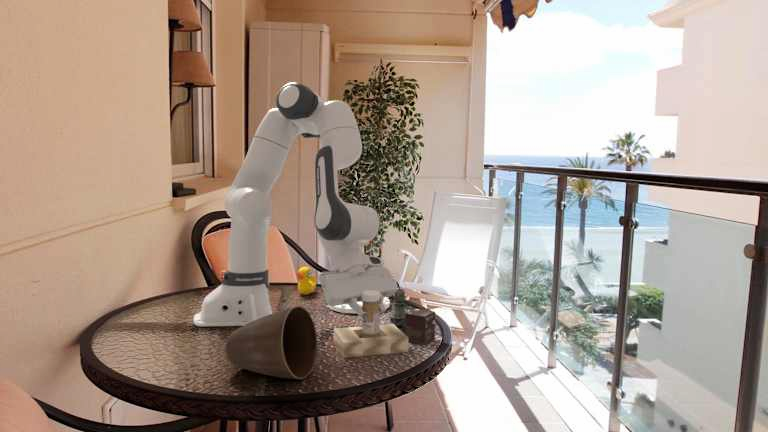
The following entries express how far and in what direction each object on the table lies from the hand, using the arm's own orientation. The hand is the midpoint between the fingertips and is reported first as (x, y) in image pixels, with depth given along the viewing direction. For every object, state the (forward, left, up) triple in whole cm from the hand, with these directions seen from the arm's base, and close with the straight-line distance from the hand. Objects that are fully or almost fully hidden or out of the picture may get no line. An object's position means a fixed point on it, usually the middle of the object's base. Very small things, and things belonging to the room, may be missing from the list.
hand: (372, 313), depth 127 cm
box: (+13, +3, -9) cm, 16 cm away
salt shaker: (+11, +14, -9) cm, 20 cm away
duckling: (-8, +62, -9) cm, 63 cm away
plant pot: (-33, -6, -4) cm, 34 cm away
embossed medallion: (+6, +40, -9) cm, 41 cm away
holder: (-1, +1, -8) cm, 9 cm away
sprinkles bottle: (0, +1, -8) cm, 8 cm away
